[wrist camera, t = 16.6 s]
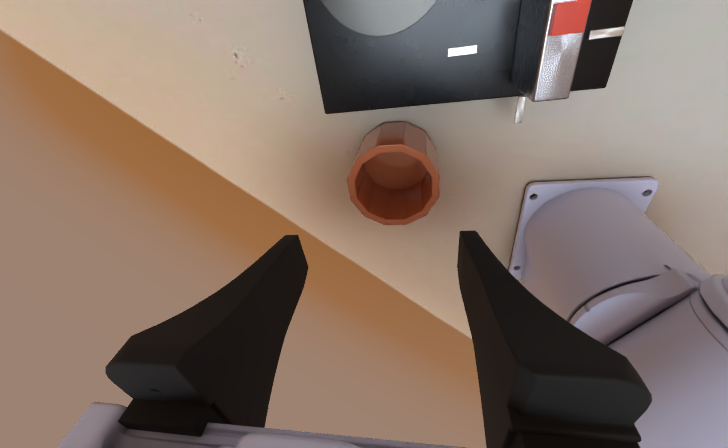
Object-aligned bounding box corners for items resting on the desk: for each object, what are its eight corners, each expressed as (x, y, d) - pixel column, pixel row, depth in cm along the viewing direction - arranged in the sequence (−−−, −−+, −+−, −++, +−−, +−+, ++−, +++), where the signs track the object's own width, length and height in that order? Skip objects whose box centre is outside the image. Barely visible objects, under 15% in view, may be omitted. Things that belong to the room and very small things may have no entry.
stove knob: (539, 80, 15) (571, 100, 12) (510, 83, 16) (533, 104, 12) (555, -7, 13) (598, -10, 10) (521, -1, 14) (553, -4, 10)
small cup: (435, 189, 23) (438, 224, 19) (364, 192, 24) (355, 225, 20) (436, 116, 20) (440, 141, 16) (354, 123, 21) (341, 148, 17)
